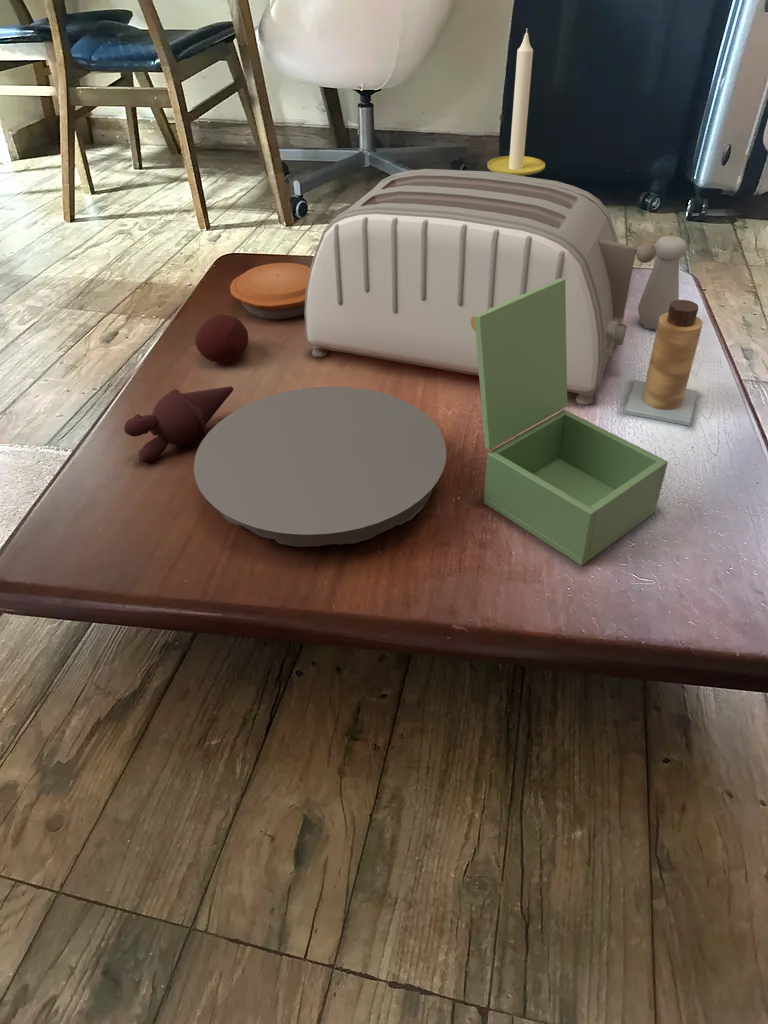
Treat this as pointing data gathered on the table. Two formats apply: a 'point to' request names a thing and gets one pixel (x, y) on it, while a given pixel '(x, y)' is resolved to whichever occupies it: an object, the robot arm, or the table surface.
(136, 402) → the table surface
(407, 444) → the flat disc
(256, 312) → the pie
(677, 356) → the pepper mill
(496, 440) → the box lid
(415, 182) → the toaster
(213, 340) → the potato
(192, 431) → the gnome figurine
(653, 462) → the green box
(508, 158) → the candle
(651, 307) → the salt shaker
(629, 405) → the tile
